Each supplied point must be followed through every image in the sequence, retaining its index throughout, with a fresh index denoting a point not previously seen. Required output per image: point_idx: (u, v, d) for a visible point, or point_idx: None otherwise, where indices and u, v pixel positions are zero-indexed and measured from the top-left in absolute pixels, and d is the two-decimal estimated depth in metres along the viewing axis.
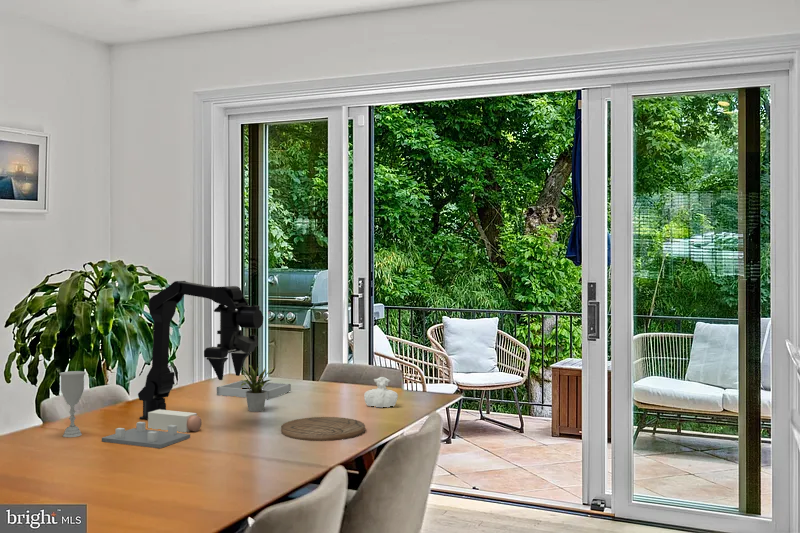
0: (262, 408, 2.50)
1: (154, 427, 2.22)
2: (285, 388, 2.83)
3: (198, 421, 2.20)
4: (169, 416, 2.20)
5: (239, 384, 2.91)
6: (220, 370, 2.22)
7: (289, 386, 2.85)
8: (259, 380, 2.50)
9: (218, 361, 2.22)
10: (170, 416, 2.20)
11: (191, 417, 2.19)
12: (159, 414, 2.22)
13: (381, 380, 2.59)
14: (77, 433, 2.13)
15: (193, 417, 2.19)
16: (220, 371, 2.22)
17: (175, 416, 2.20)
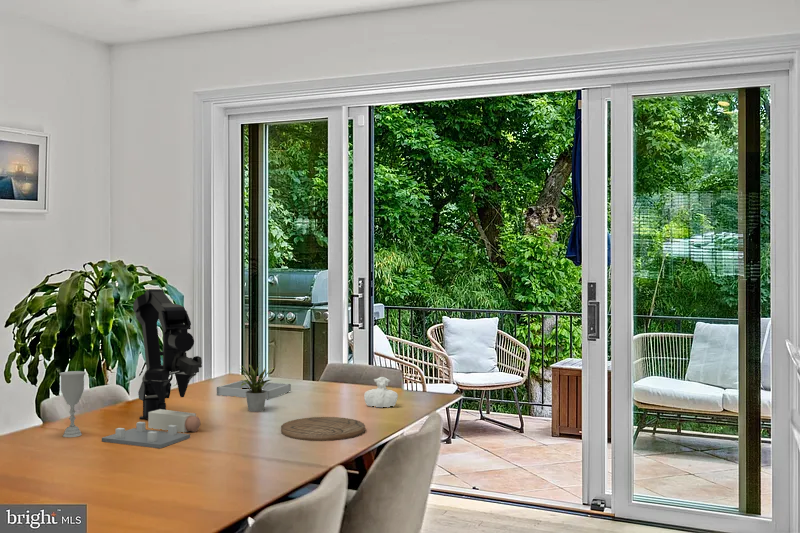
0: (262, 408, 2.50)
1: (154, 427, 2.23)
2: (285, 388, 2.83)
3: (196, 421, 2.20)
4: (168, 416, 2.20)
5: (239, 384, 2.91)
6: (161, 393, 2.17)
7: (289, 386, 2.85)
8: (259, 380, 2.50)
9: (159, 383, 2.18)
10: (169, 416, 2.20)
11: (189, 417, 2.19)
12: (159, 414, 2.22)
13: (381, 380, 2.59)
14: (77, 433, 2.13)
15: (191, 417, 2.19)
16: (161, 394, 2.18)
17: (174, 416, 2.19)
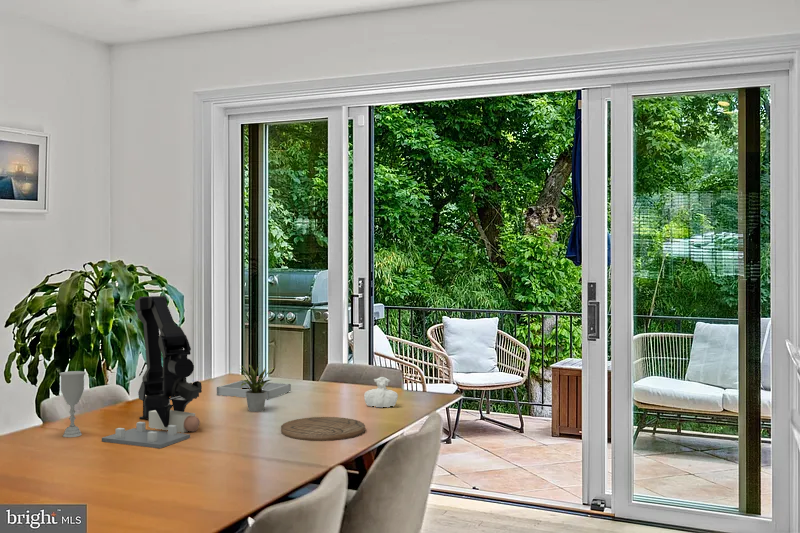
0: (262, 408, 2.50)
1: (154, 426, 2.23)
2: (285, 388, 2.83)
3: (195, 421, 2.19)
4: None
5: (239, 384, 2.91)
6: (165, 417, 2.19)
7: (289, 386, 2.85)
8: (259, 380, 2.50)
9: (163, 408, 2.19)
10: None
11: (188, 417, 2.19)
12: None
13: (381, 380, 2.59)
14: (77, 433, 2.13)
15: (190, 417, 2.18)
16: (165, 418, 2.20)
17: (173, 416, 2.19)
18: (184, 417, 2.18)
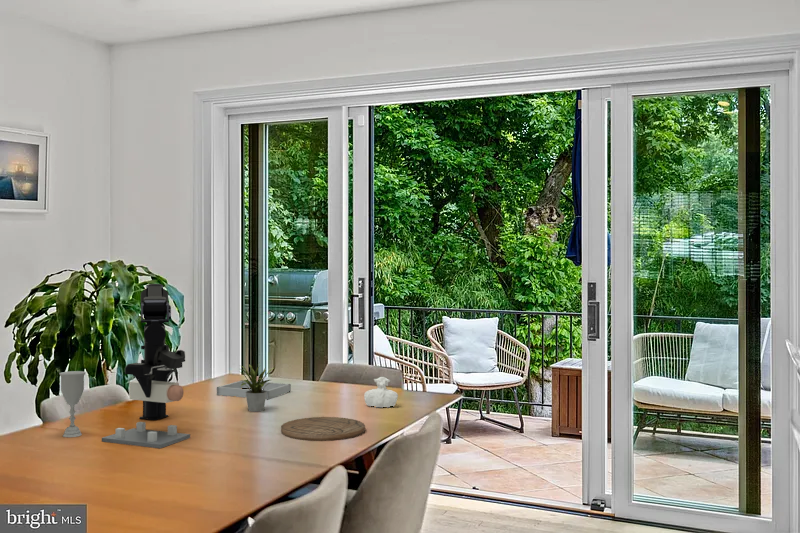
0: (262, 408, 2.50)
1: (135, 397, 2.14)
2: (285, 388, 2.83)
3: (179, 391, 2.10)
4: None
5: (239, 384, 2.91)
6: (147, 387, 2.10)
7: (289, 386, 2.85)
8: (259, 380, 2.50)
9: (145, 377, 2.10)
10: (151, 385, 2.11)
11: (172, 386, 2.10)
12: None
13: (381, 380, 2.59)
14: (77, 433, 2.13)
15: (174, 386, 2.09)
16: (147, 388, 2.10)
17: (155, 385, 2.10)
18: (167, 386, 2.09)
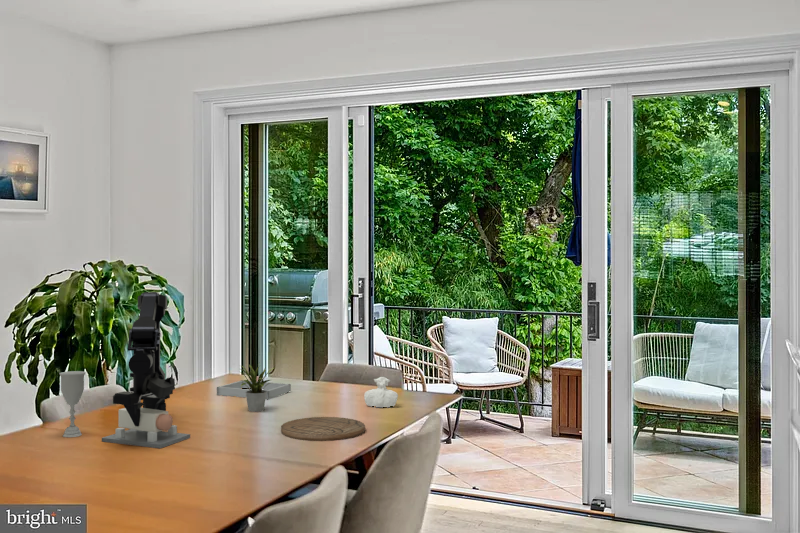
0: (262, 408, 2.50)
1: (124, 425, 2.10)
2: (285, 388, 2.83)
3: (168, 420, 2.06)
4: None
5: (239, 384, 2.91)
6: (136, 416, 2.06)
7: (289, 386, 2.85)
8: (259, 380, 2.50)
9: (134, 406, 2.06)
10: None
11: (160, 415, 2.05)
12: None
13: (381, 380, 2.59)
14: (77, 433, 2.13)
15: (162, 415, 2.05)
16: (135, 417, 2.06)
17: (144, 414, 2.06)
18: (156, 415, 2.05)
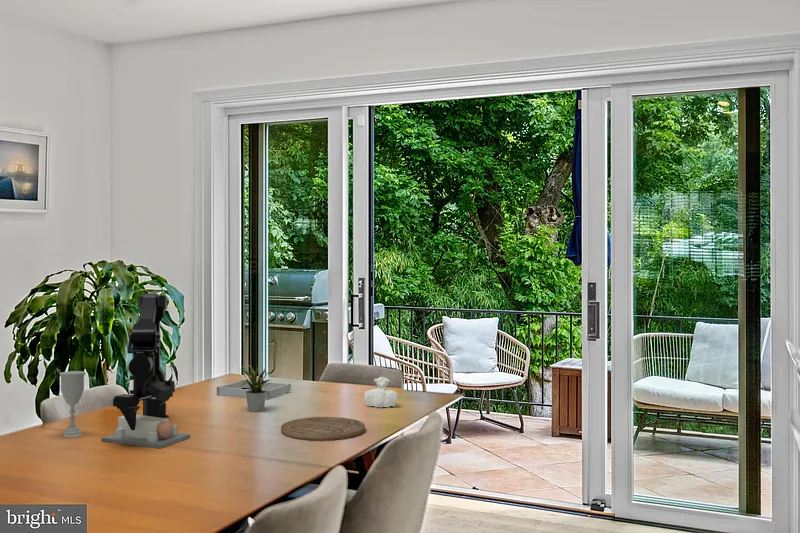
0: (262, 408, 2.50)
1: None
2: (285, 388, 2.83)
3: (169, 427, 2.06)
4: (139, 421, 2.07)
5: (239, 384, 2.91)
6: (132, 420, 2.04)
7: (289, 386, 2.85)
8: (259, 380, 2.50)
9: (130, 410, 2.04)
10: (140, 421, 2.07)
11: (161, 423, 2.05)
12: None
13: (381, 380, 2.59)
14: (77, 433, 2.13)
15: (163, 423, 2.05)
16: (131, 421, 2.05)
17: (144, 422, 2.06)
18: (156, 423, 2.05)
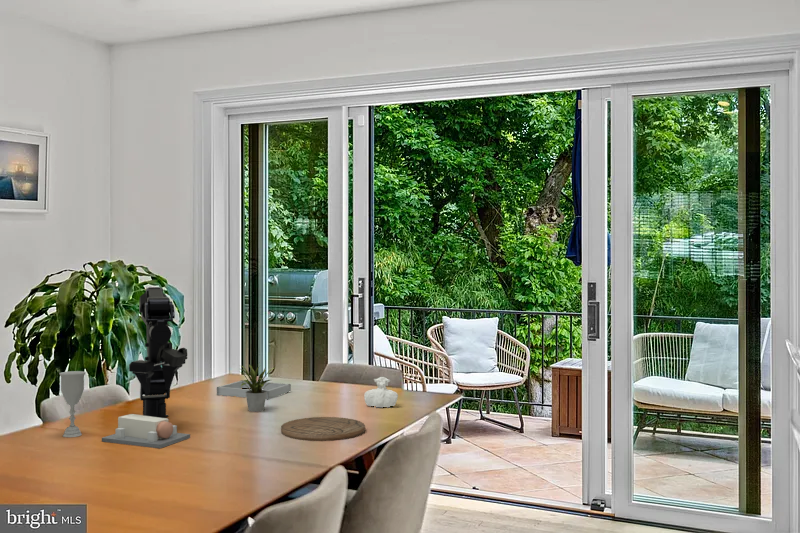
0: (262, 408, 2.50)
1: None
2: (285, 388, 2.83)
3: (169, 427, 2.06)
4: (139, 421, 2.07)
5: (239, 384, 2.91)
6: (146, 384, 2.17)
7: (289, 386, 2.85)
8: (259, 380, 2.50)
9: (144, 375, 2.17)
10: (140, 421, 2.07)
11: (161, 423, 2.05)
12: (129, 419, 2.09)
13: (381, 380, 2.59)
14: (77, 433, 2.13)
15: (163, 423, 2.05)
16: (146, 386, 2.17)
17: (144, 422, 2.06)
18: (156, 423, 2.05)
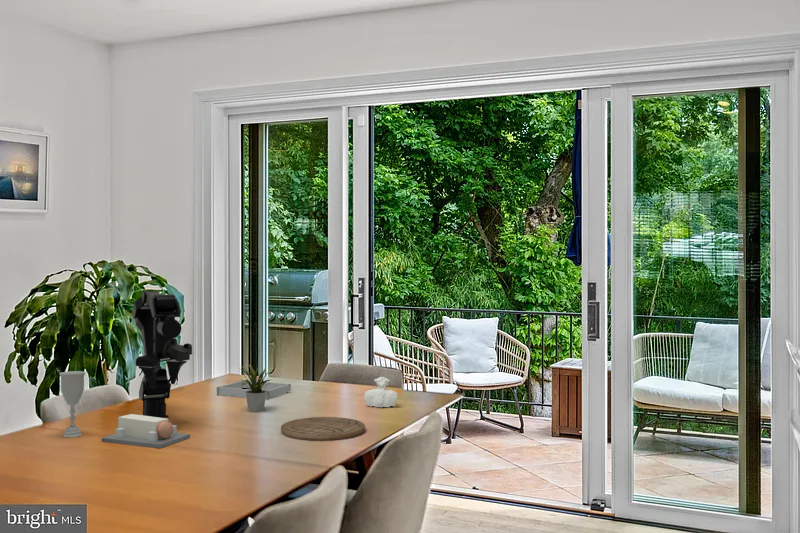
0: (262, 408, 2.50)
1: None
2: (285, 388, 2.83)
3: (169, 427, 2.06)
4: (139, 421, 2.07)
5: (239, 384, 2.91)
6: (152, 379, 2.21)
7: (289, 386, 2.85)
8: (259, 380, 2.50)
9: (150, 370, 2.21)
10: (140, 421, 2.07)
11: (161, 423, 2.05)
12: (129, 419, 2.09)
13: (381, 380, 2.59)
14: (77, 433, 2.13)
15: (163, 423, 2.05)
16: (152, 380, 2.21)
17: (144, 422, 2.06)
18: (156, 423, 2.05)
